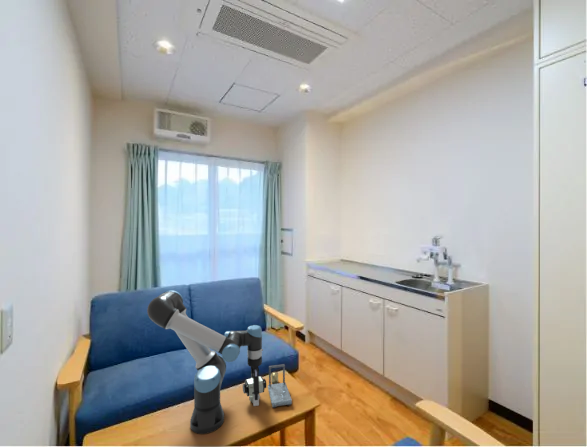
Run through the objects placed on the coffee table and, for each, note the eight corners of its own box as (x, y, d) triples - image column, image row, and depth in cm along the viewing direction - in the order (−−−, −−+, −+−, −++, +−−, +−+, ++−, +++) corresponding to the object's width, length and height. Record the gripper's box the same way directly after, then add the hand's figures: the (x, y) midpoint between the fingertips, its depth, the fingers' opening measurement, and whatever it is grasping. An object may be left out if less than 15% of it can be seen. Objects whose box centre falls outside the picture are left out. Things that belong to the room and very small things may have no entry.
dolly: (272, 408, 138) (272, 382, 138) (267, 390, 153) (267, 366, 153) (291, 405, 140) (291, 379, 140) (285, 387, 155) (285, 363, 156)
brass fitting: (271, 384, 159) (271, 375, 159) (270, 380, 163) (270, 372, 163) (278, 383, 160) (278, 374, 160) (277, 379, 164) (277, 371, 164)
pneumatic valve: (242, 401, 144) (242, 378, 144) (263, 395, 149) (263, 373, 149) (245, 407, 139) (245, 383, 139) (267, 401, 144) (267, 378, 144)
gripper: (264, 367, 132) (265, 411, 132) (259, 345, 157) (259, 382, 157) (249, 369, 131) (249, 414, 131) (246, 346, 155) (246, 384, 155)
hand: (254, 397), depth 144 cm, fingers open, 13 cm apart
